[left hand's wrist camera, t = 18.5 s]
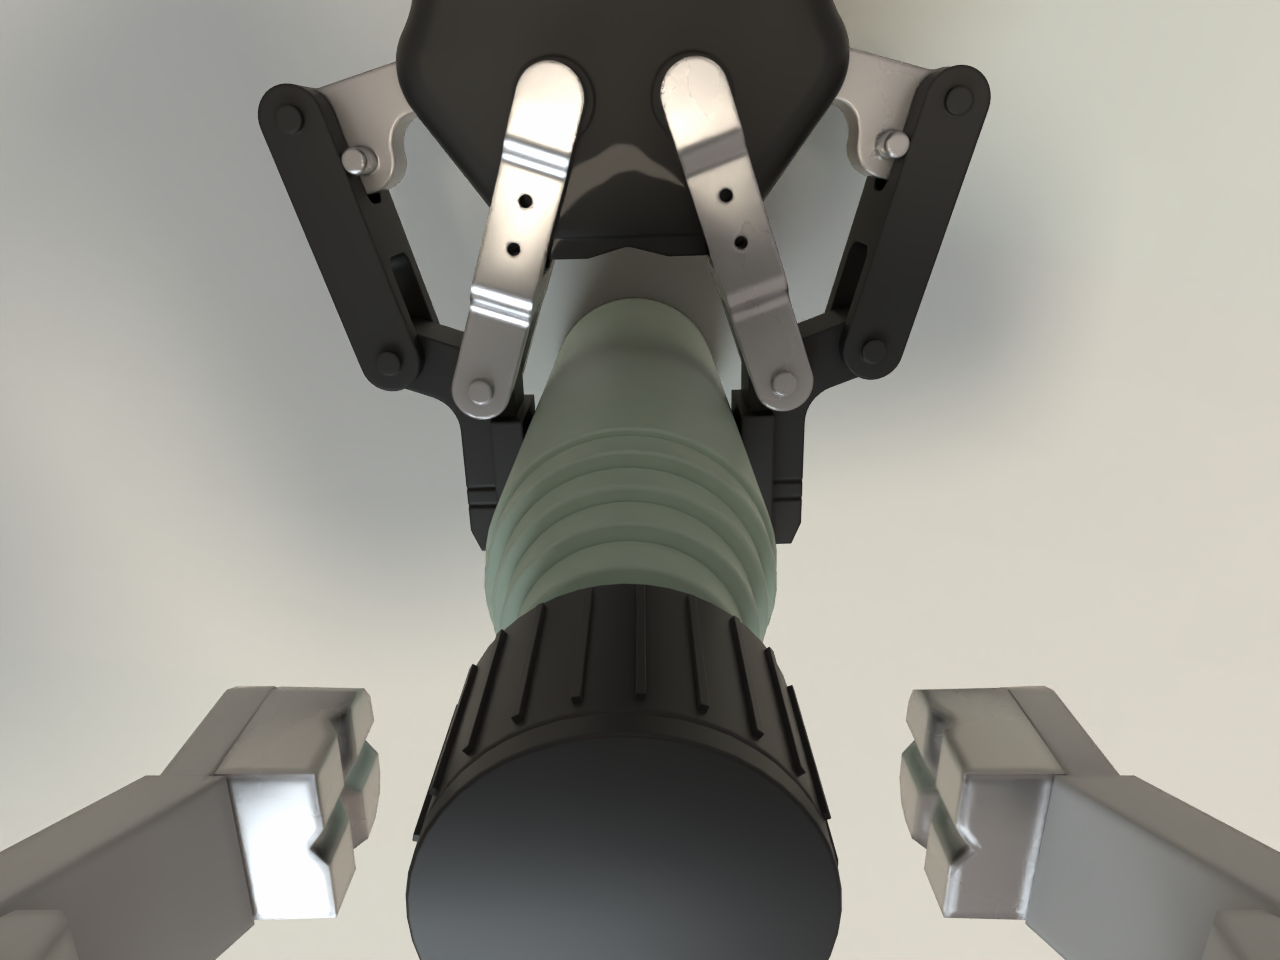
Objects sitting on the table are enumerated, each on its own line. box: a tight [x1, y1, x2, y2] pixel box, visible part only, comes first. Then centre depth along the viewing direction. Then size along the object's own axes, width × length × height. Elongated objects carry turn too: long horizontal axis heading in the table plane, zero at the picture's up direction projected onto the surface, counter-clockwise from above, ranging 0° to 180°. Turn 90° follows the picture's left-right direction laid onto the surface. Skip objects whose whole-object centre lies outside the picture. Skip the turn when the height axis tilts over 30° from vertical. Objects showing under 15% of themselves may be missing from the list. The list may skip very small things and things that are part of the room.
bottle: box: [485, 298, 777, 642], centre depth 17 cm, size 5×5×19 cm
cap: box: [406, 584, 842, 960], centre depth 9 cm, size 4×4×3 cm
